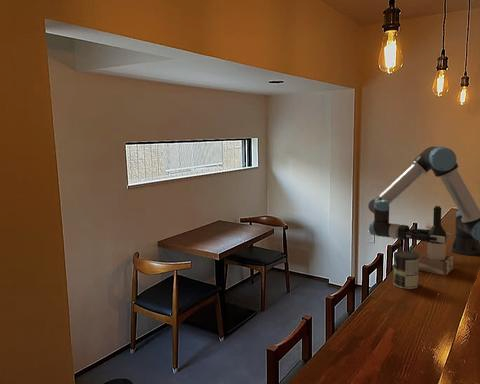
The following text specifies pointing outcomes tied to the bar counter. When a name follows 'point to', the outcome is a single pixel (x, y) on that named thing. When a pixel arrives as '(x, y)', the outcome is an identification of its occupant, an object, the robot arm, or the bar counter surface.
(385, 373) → the bar counter surface
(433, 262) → the u rest
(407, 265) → the coffee can
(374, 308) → the bar counter surface
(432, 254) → the wine bottle
